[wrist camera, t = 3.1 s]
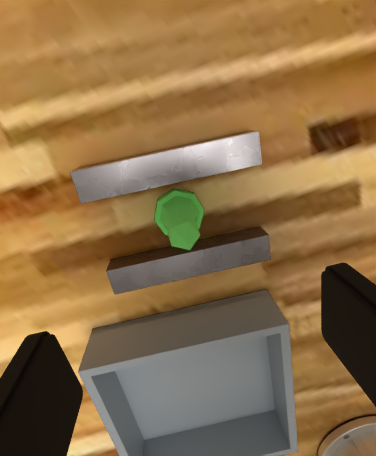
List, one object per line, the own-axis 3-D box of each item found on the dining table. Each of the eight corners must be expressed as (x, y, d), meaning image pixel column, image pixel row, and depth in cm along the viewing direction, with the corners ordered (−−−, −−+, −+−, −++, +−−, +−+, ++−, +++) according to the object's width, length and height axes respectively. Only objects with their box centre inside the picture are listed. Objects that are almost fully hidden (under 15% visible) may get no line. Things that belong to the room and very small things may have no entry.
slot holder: (250, 130, 21) (258, 131, 19) (262, 249, 25) (270, 259, 23) (77, 168, 21) (69, 172, 19) (118, 281, 25) (114, 294, 23)
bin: (266, 289, 27) (289, 323, 22) (279, 406, 33) (297, 451, 29) (92, 328, 26) (78, 371, 22) (139, 438, 33) (136, 489, 28)
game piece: (148, 193, 22) (144, 216, 17) (199, 183, 22) (211, 203, 17) (159, 239, 24) (158, 274, 18) (206, 230, 24) (220, 262, 18)
